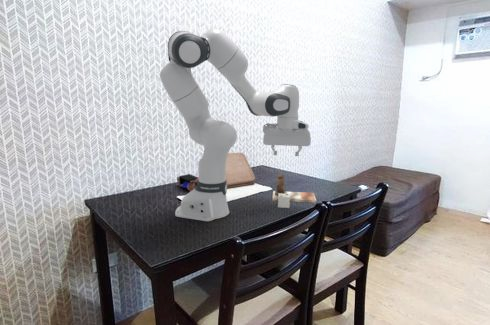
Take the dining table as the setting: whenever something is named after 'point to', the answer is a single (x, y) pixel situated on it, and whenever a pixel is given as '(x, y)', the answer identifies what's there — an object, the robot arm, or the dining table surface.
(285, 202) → the die
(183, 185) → the figurine character
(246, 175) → the case
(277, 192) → the pawn
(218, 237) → the dining table surface
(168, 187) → the dining table surface
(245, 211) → the dining table surface
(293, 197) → the board
